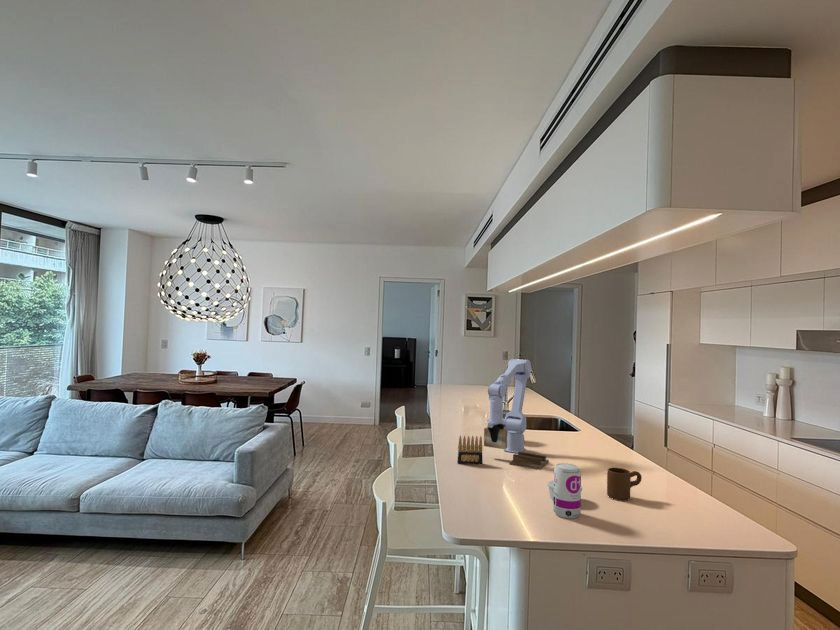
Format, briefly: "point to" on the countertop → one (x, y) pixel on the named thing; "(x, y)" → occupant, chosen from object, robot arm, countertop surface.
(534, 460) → the notched stand
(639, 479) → the mug
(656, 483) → the countertop surface
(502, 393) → the robot arm
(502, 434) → the beige wooden block
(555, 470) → the supplement can
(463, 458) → the ammunition clip
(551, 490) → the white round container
